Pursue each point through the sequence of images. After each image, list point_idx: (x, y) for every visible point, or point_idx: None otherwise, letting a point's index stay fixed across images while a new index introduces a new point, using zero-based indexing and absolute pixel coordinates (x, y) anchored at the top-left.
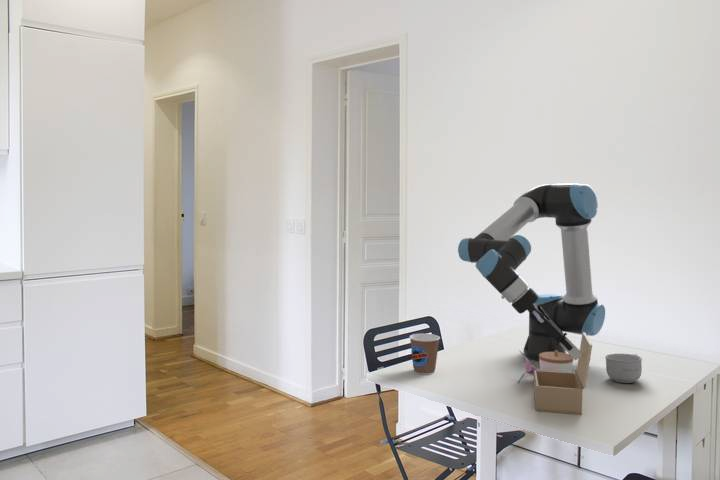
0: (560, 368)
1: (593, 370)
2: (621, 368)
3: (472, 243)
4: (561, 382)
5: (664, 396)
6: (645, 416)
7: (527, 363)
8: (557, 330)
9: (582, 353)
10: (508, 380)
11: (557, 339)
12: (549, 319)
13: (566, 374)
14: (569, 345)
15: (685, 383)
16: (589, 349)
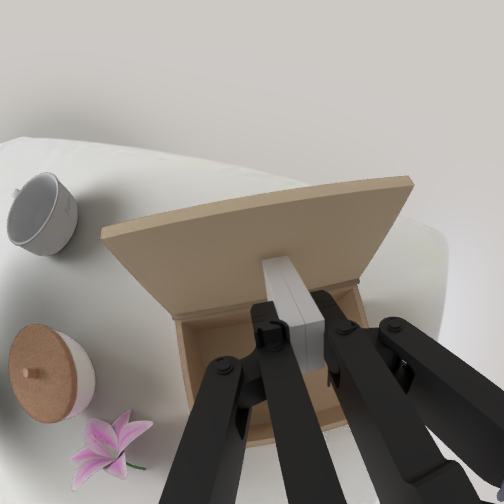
0: (83, 366)
1: (13, 288)
2: (64, 214)
3: None
4: (195, 364)
5: (139, 160)
6: (279, 182)
7: (112, 464)
8: (454, 355)
9: (265, 259)
10: (134, 488)
11: (400, 364)
12: (311, 498)
13: (186, 349)
14: (334, 304)
15: (71, 147)
16: (404, 197)
